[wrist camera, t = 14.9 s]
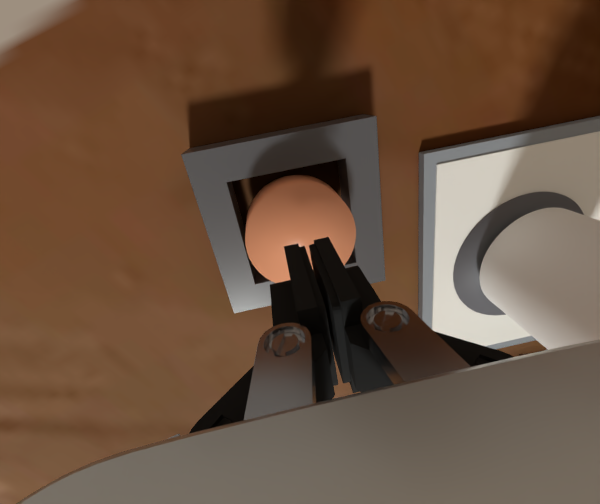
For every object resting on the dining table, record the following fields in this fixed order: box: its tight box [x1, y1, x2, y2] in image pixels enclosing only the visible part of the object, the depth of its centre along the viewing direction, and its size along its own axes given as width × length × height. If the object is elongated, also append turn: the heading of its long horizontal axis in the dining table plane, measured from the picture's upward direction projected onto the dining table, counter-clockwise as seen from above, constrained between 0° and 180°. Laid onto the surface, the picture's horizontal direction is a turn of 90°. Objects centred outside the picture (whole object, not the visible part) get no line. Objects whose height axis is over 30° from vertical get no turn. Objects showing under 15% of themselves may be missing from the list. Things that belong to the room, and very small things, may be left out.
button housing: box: [181, 114, 385, 313], centre depth 17 cm, size 9×9×2 cm
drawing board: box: [418, 116, 600, 349], centre depth 21 cm, size 16×13×1 cm
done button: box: [245, 175, 356, 283], centre depth 16 cm, size 5×5×2 cm
